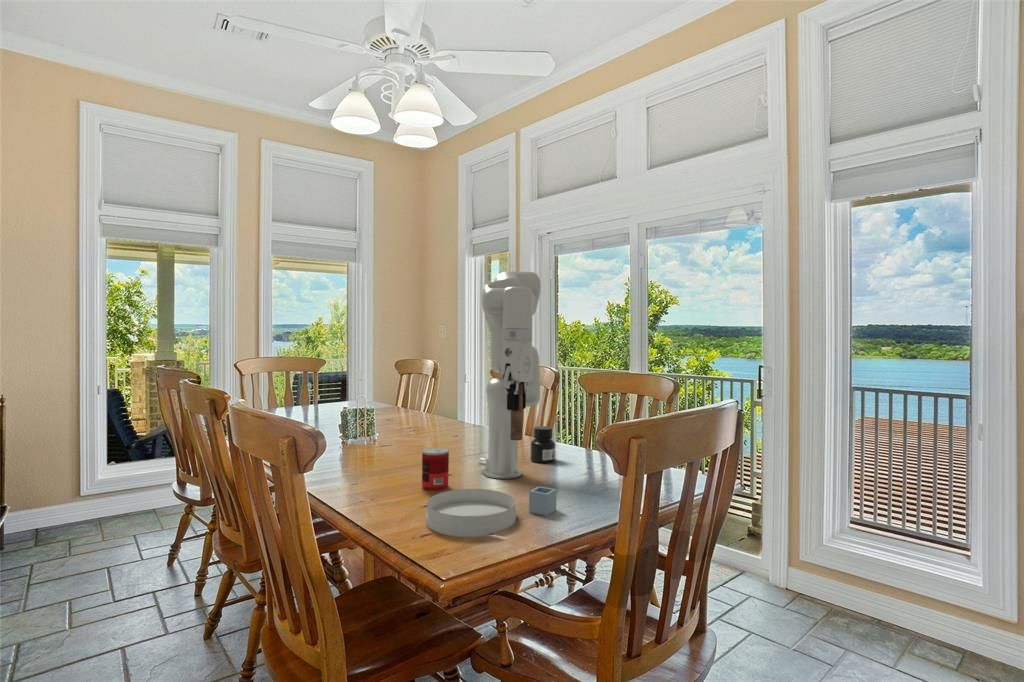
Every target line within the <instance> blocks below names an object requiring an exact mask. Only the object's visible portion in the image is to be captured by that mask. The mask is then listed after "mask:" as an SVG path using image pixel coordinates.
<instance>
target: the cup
mask: <svg viewBox="0 0 1024 682" xmlns="http://www.w3.org/2000/svg"><path fill="white" fill-rule="evenodd" d="M528 499H529V501H528V502H529V503H528V504H529V505H528V513H530V514H535V515H541V516H546V517H548V516H549V515H551V514H553V513H554V512H556V511H557V489H556V488H552V487H546V486H536V487H535V488H532V489H531V490H529V497H528Z"/></svg>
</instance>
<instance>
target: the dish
mask: <svg viewBox="0 0 1024 682" xmlns="http://www.w3.org/2000/svg"><path fill="white" fill-rule="evenodd" d="M425 516H426V518H425V520H426V521H425V522H426V526H427V527H428V528H430V529H431V530H432V531H434V532H436V533H438V534H442V535H445V536H451V537H457V538H458V537H460V538H479V537H489V536H494V535H495V532H499V531H500V532H501V531H503V530H505V529H508V528H510V527H511V526H513V525H514V524H515V523H516V519H517V511H516V499H515V498H514V497H513V496H512V495H510V494H508V493H505V492H502V491H498V490H492V489H486V488H484V489H483V488H462V489H461V488H460V489H458V488H457V489H454V490H452V489H451V490H447V491H443V492H439V493H436V494H434V495H433V496H431V497H430V498H428V499H427V502H426V513H425Z"/></svg>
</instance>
